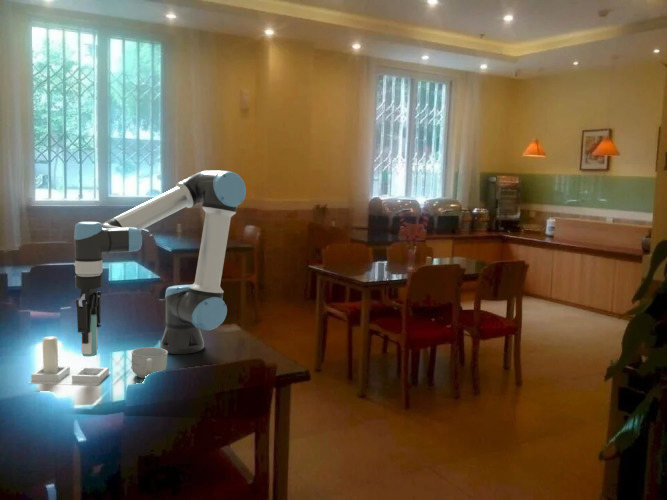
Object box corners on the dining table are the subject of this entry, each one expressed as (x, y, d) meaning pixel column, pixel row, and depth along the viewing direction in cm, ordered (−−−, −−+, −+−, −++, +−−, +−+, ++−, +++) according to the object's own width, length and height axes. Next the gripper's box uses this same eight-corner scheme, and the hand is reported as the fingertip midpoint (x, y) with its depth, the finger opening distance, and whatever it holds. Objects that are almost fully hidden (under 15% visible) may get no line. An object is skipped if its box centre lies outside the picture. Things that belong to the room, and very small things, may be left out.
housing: (111, 374, 191) (111, 365, 191) (96, 388, 179) (96, 378, 179) (47, 372, 191) (46, 363, 191) (28, 386, 179) (27, 376, 179)
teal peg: (85, 352, 186) (85, 313, 184) (98, 352, 186) (98, 314, 184) (80, 356, 182) (79, 316, 180) (93, 356, 182) (93, 317, 181)
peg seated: (60, 374, 187) (59, 336, 185) (54, 379, 183) (53, 340, 181) (47, 374, 187) (46, 336, 185) (41, 378, 183) (40, 339, 181)
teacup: (136, 369, 197) (136, 345, 196) (170, 370, 198) (170, 346, 197) (125, 385, 183) (124, 359, 182) (162, 385, 184) (162, 359, 183)
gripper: (87, 269, 189) (88, 342, 192) (63, 278, 172) (65, 359, 175) (111, 270, 189) (112, 343, 192) (90, 279, 173) (91, 360, 175)
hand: (89, 351), depth 184 cm, fingers closed on teal peg, 4 cm apart
